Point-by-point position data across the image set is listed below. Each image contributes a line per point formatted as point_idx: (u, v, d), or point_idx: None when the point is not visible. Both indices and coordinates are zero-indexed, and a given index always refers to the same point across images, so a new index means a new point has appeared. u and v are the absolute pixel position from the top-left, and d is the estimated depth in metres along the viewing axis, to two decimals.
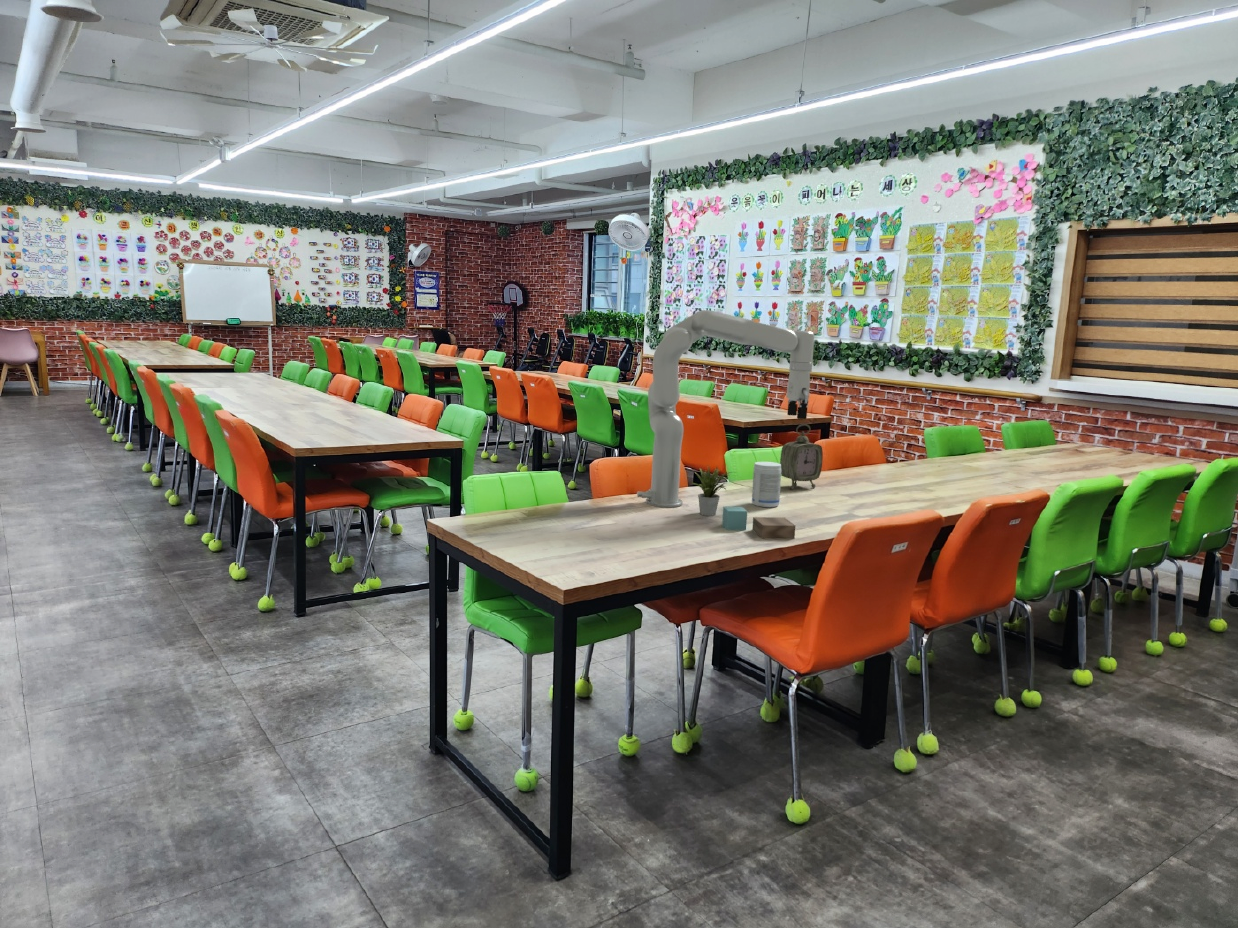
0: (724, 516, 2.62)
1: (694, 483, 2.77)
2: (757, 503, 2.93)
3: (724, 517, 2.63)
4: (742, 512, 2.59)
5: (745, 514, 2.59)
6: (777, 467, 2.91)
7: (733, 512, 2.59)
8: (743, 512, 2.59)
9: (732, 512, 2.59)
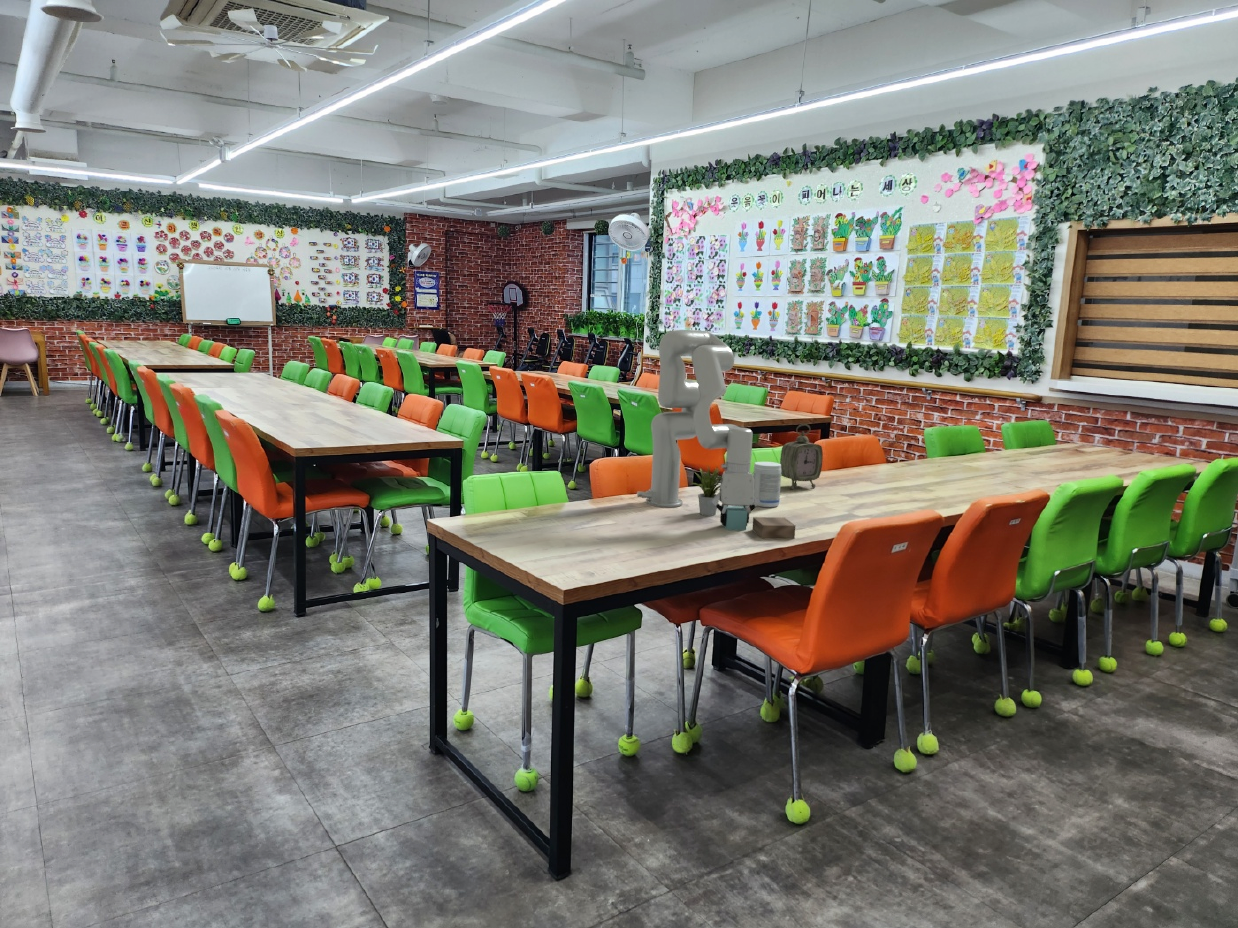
0: None
1: (694, 483, 2.77)
2: None
3: None
4: (742, 512, 2.59)
5: (745, 514, 2.59)
6: (777, 467, 2.91)
7: (733, 512, 2.59)
8: (743, 512, 2.59)
9: (732, 512, 2.59)
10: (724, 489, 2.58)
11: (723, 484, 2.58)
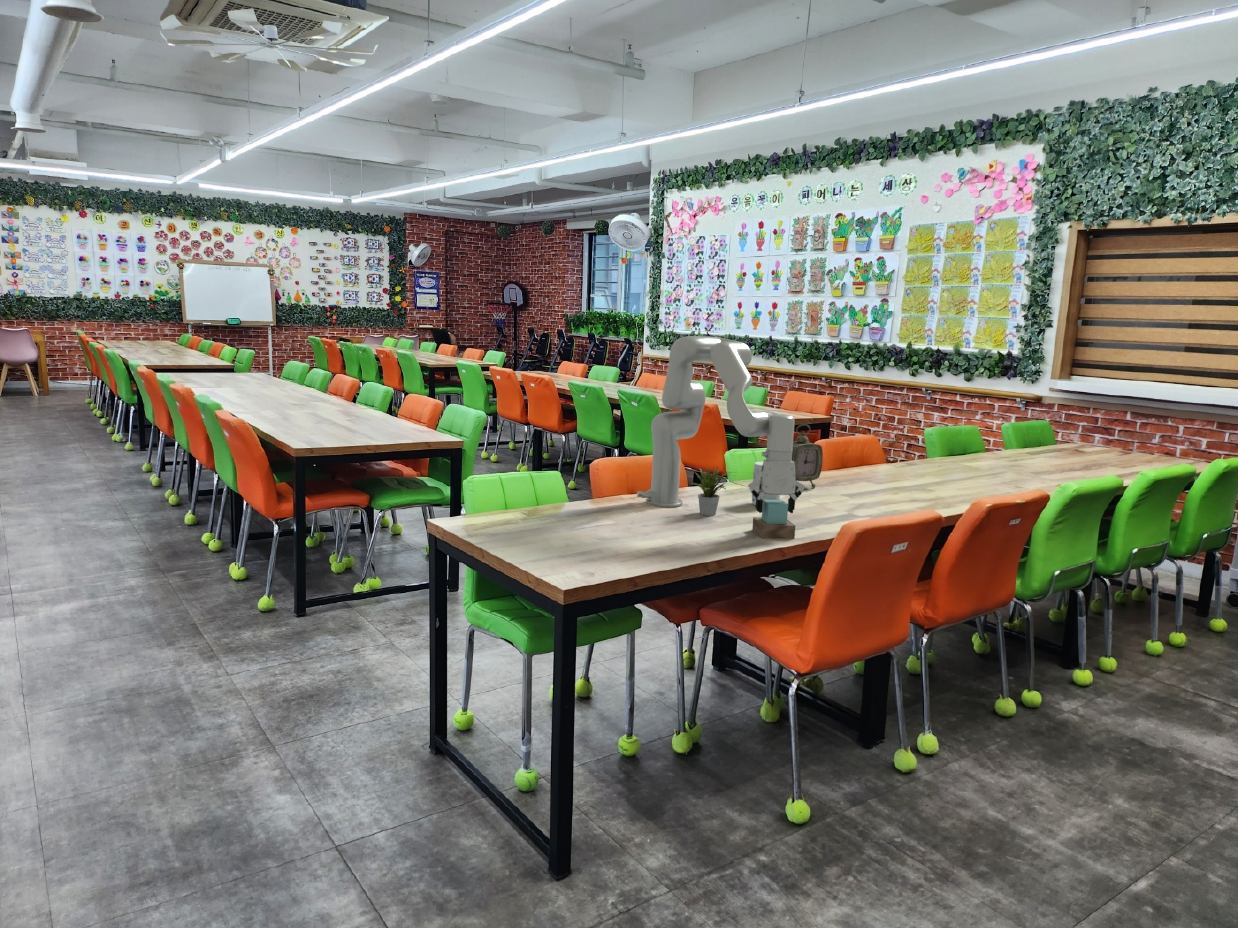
0: (764, 509, 2.55)
1: (694, 483, 2.77)
2: None
3: (764, 510, 2.56)
4: (783, 505, 2.52)
5: (786, 507, 2.52)
6: None
7: (774, 505, 2.52)
8: (784, 505, 2.52)
9: (773, 505, 2.52)
10: (765, 478, 2.50)
11: (764, 472, 2.51)
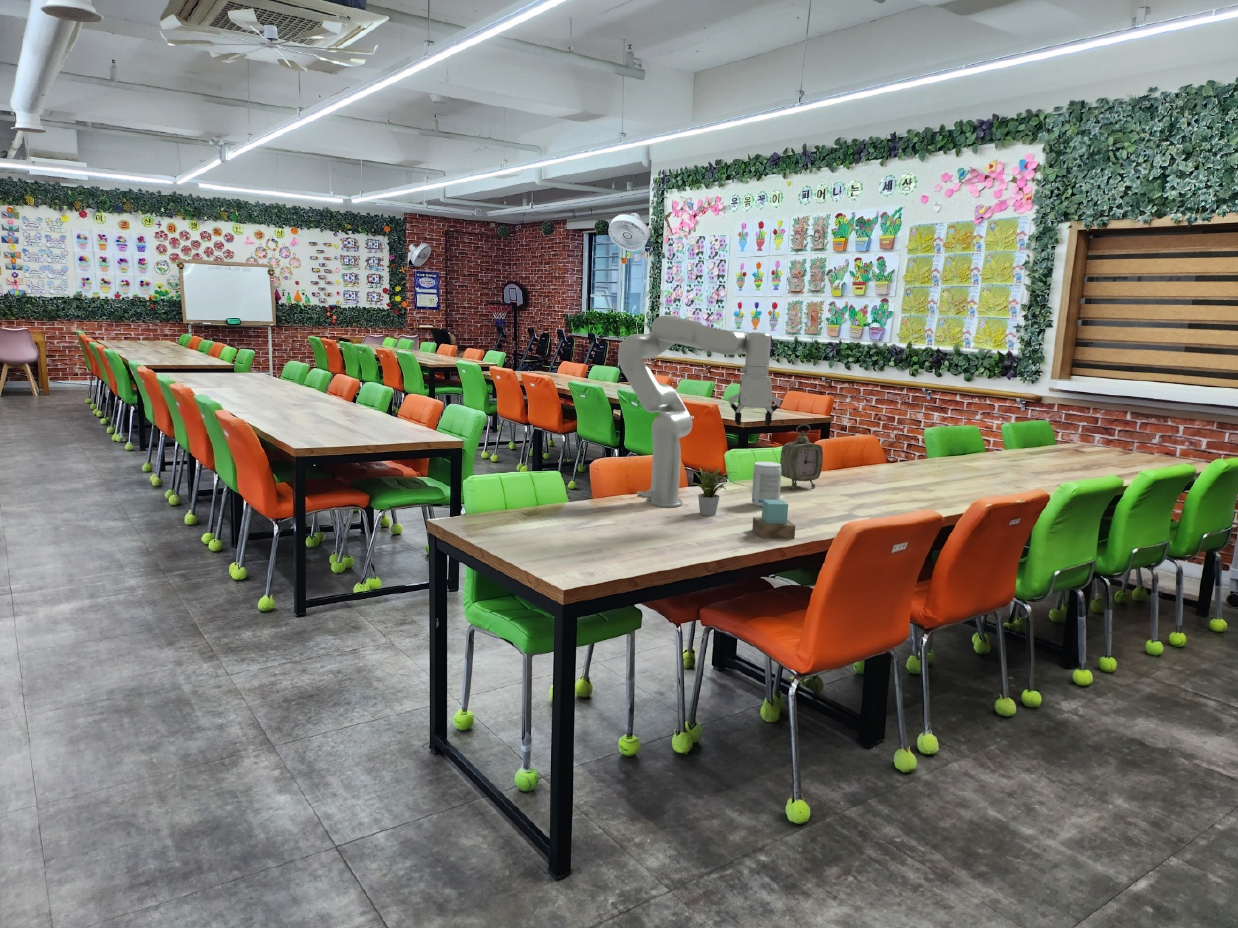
0: (764, 509, 2.55)
1: (694, 483, 2.77)
2: (757, 503, 2.93)
3: (764, 510, 2.56)
4: (783, 505, 2.52)
5: (786, 507, 2.52)
6: (777, 467, 2.91)
7: (774, 505, 2.52)
8: (784, 505, 2.52)
9: (773, 505, 2.52)
10: (743, 391, 2.67)
11: (742, 387, 2.68)
